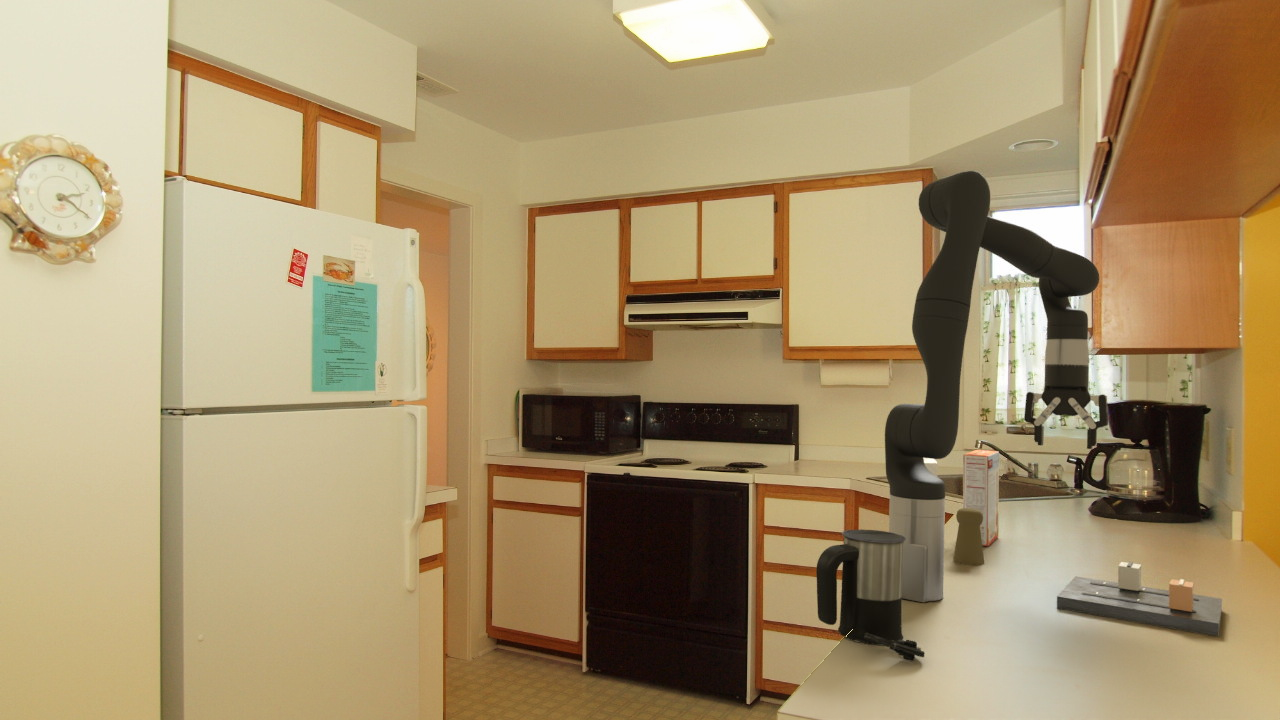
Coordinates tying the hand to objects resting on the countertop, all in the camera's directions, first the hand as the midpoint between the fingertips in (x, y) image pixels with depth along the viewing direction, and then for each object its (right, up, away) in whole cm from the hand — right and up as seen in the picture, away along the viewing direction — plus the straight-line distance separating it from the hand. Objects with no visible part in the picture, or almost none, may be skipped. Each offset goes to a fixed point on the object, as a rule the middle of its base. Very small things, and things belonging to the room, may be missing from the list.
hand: (1064, 446), depth 157 cm
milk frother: (-48, -24, -42) cm, 68 cm away
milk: (-19, -25, +28) cm, 43 cm away
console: (+2, -25, -21) cm, 33 cm away
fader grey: (+3, -23, -16) cm, 28 cm away
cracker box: (-2, -26, +34) cm, 43 cm away
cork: (-14, -25, +12) cm, 31 cm away
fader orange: (+4, -23, -28) cm, 36 cm away
